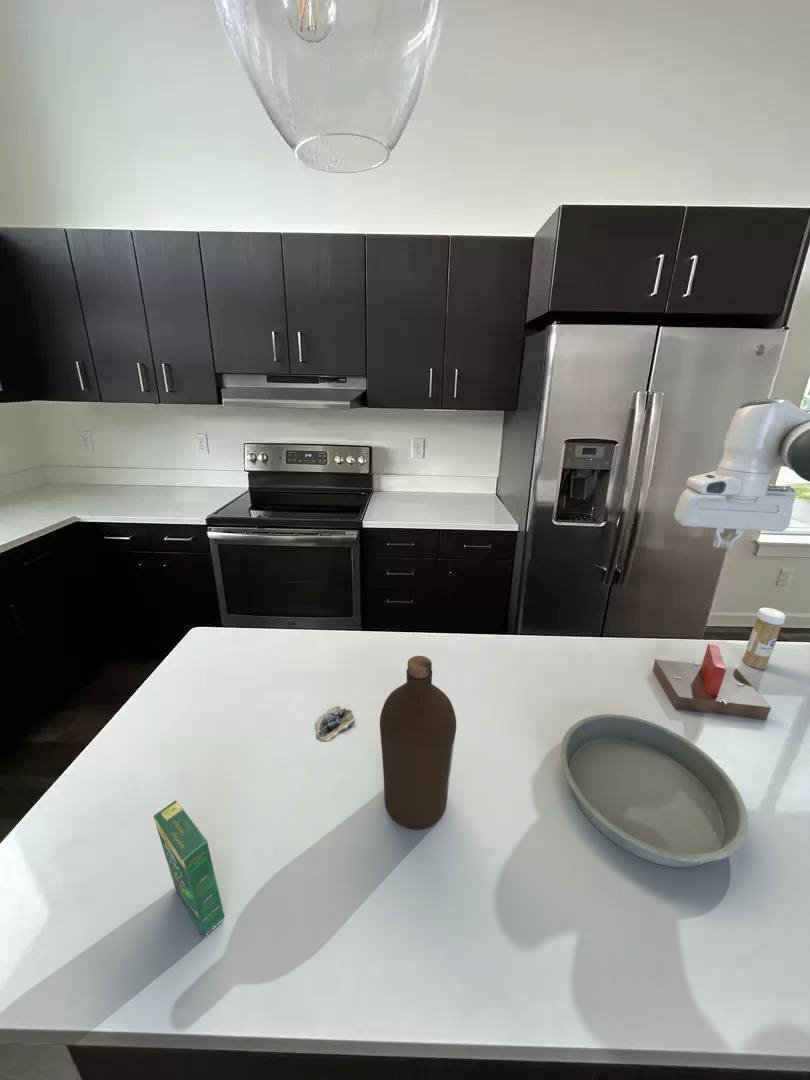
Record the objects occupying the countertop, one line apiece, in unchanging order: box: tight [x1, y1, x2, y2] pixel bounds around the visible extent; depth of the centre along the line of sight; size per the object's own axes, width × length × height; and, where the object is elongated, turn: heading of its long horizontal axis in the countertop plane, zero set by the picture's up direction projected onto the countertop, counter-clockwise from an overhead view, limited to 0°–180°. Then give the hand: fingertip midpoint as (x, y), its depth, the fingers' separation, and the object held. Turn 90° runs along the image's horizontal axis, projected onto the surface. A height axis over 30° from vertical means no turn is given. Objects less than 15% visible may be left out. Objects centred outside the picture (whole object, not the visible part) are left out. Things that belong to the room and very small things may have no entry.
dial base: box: [651, 659, 772, 721], centre depth 87 cm, size 16×13×3 cm
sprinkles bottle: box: [742, 607, 787, 670], centre depth 95 cm, size 5×5×13 cm
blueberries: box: [314, 705, 356, 742], centre depth 78 cm, size 7×8×2 cm
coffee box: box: [153, 800, 226, 938], centre depth 49 cm, size 8×3×13 cm, turn 49°
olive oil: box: [379, 655, 457, 830], centre depth 60 cm, size 11×11×25 cm
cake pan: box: [560, 713, 749, 868], centre depth 65 cm, size 25×25×4 cm
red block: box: [701, 643, 726, 696], centre depth 85 cm, size 9×2×6 cm, turn 153°
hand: (721, 547), depth 90 cm, fingers closed
